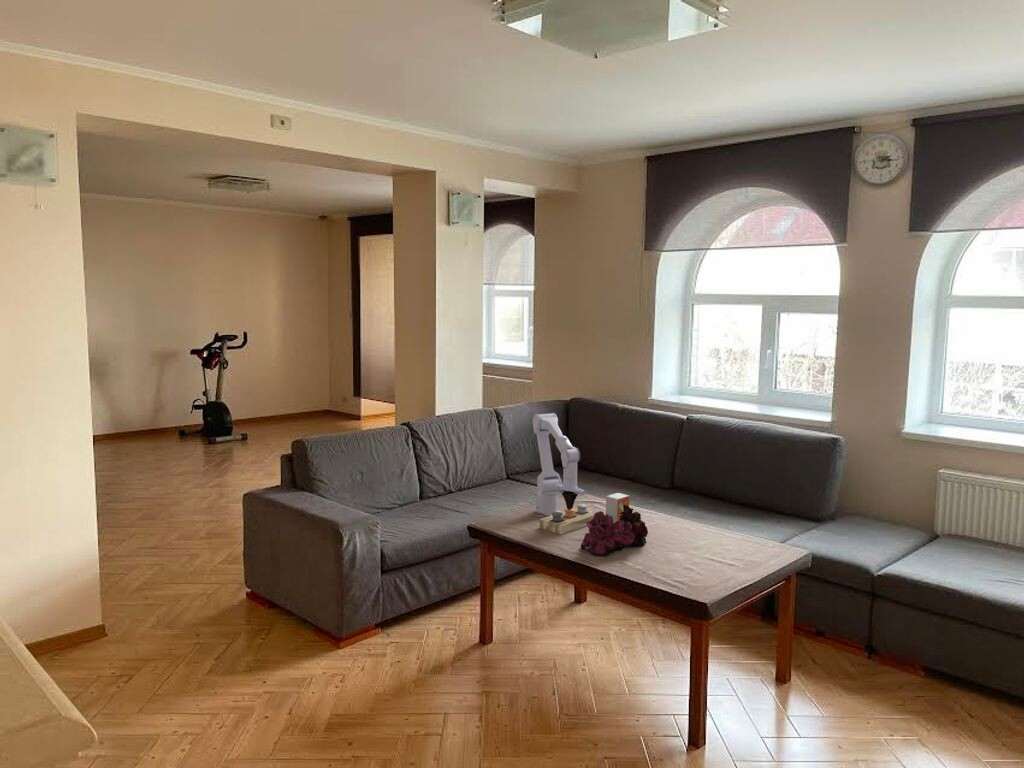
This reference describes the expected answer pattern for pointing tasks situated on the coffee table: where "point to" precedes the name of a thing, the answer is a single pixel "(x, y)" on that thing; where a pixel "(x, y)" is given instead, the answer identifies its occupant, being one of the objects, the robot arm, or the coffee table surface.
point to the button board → (567, 522)
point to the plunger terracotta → (569, 513)
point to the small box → (616, 505)
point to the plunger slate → (581, 509)
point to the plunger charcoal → (557, 517)
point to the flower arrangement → (614, 533)
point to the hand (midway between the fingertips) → (569, 508)
